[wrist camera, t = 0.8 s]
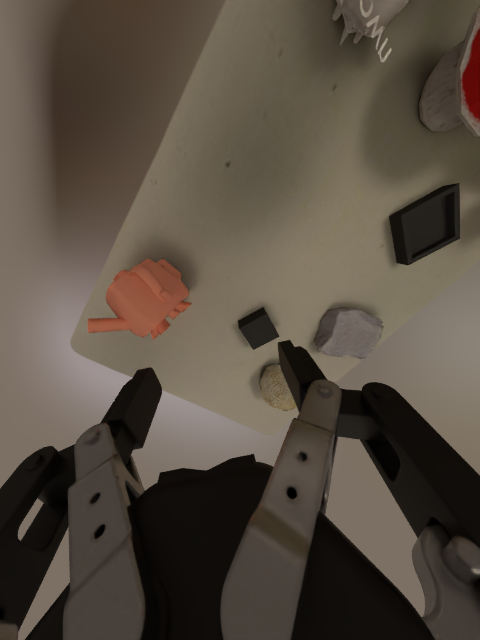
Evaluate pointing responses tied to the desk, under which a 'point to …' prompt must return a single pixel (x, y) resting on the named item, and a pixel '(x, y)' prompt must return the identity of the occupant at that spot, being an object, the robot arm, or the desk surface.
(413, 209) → the base pad
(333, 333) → the stone block
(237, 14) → the desk surface
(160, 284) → the pink piece
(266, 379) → the decorative item
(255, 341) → the small pad
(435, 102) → the decorative mushroom
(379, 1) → the figurine
